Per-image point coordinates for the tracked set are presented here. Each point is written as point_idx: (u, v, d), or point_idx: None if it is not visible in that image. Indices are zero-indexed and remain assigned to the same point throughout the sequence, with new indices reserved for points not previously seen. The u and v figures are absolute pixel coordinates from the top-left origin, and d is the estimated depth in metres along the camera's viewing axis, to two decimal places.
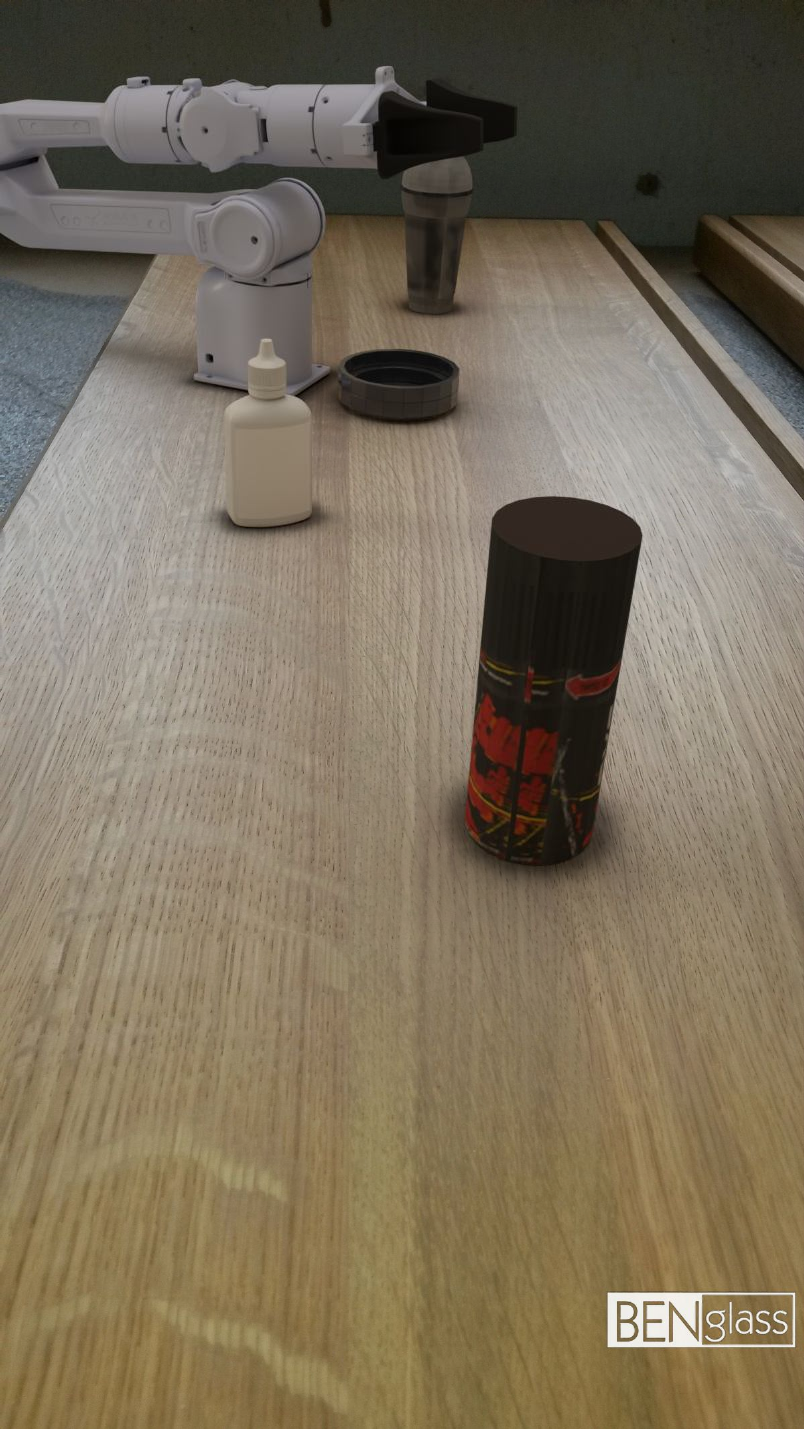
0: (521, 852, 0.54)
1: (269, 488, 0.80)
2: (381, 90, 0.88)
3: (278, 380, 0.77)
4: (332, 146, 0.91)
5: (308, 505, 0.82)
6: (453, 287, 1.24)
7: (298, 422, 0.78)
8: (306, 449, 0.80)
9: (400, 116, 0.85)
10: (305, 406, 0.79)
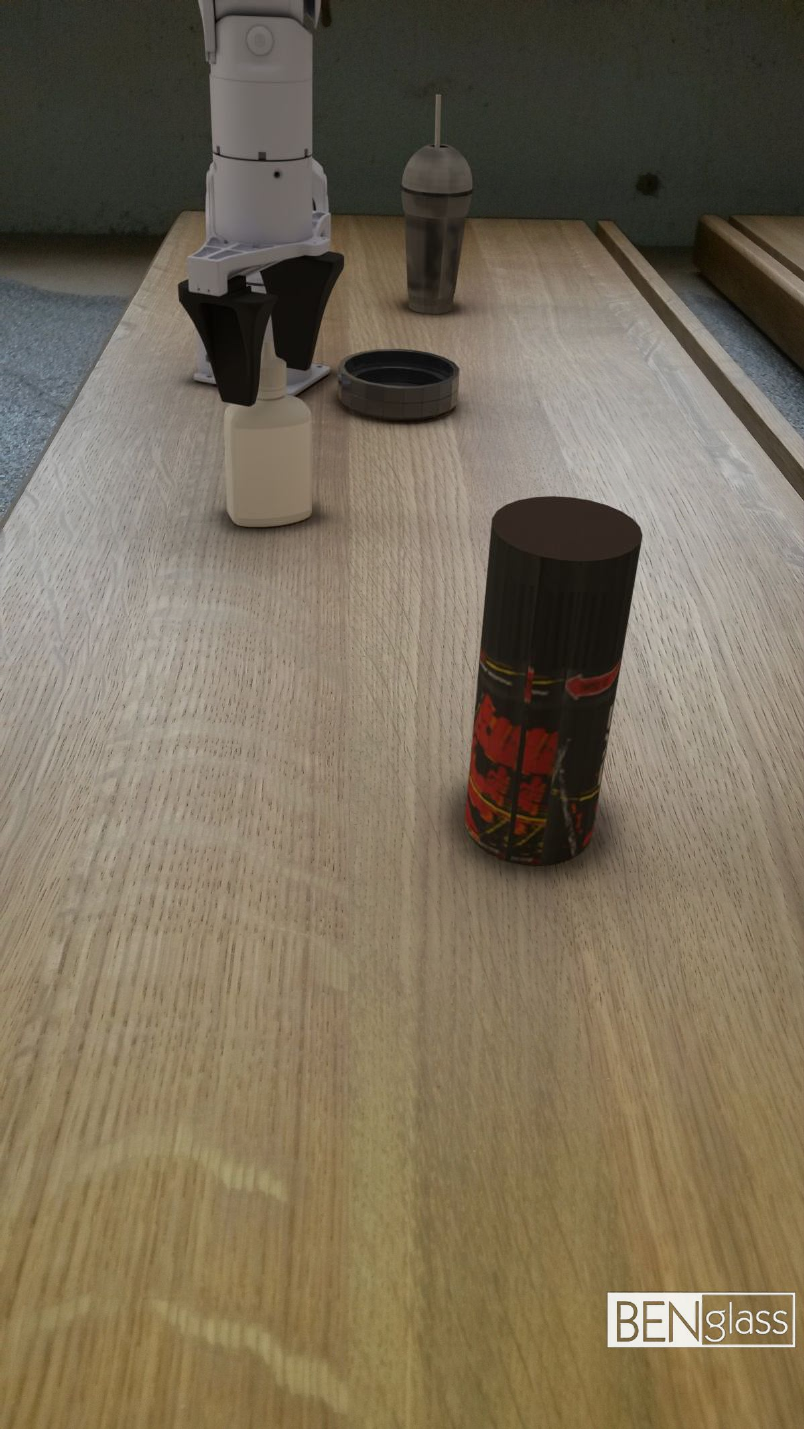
0: (521, 852, 0.54)
1: (269, 488, 0.80)
2: (291, 257, 0.71)
3: (278, 380, 0.77)
4: (225, 183, 0.69)
5: (308, 505, 0.82)
6: (453, 287, 1.24)
7: (298, 422, 0.78)
8: (306, 449, 0.80)
9: (241, 323, 0.70)
10: (305, 406, 0.79)
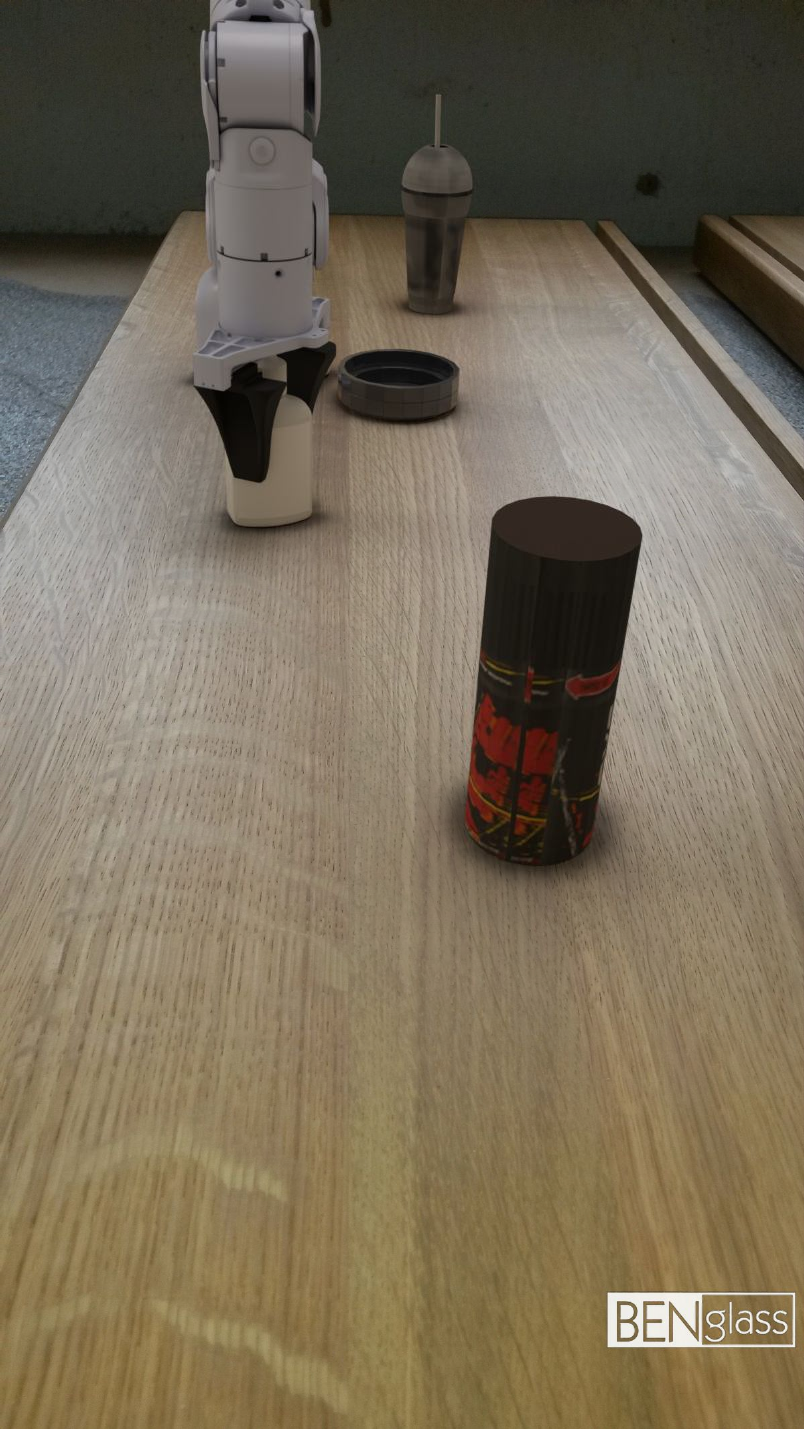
0: (521, 852, 0.54)
1: (270, 487, 0.80)
2: (291, 349, 0.74)
3: None
4: (228, 281, 0.72)
5: (308, 505, 0.82)
6: (453, 287, 1.24)
7: (298, 421, 0.78)
8: (306, 449, 0.80)
9: (252, 408, 0.74)
10: (305, 406, 0.79)
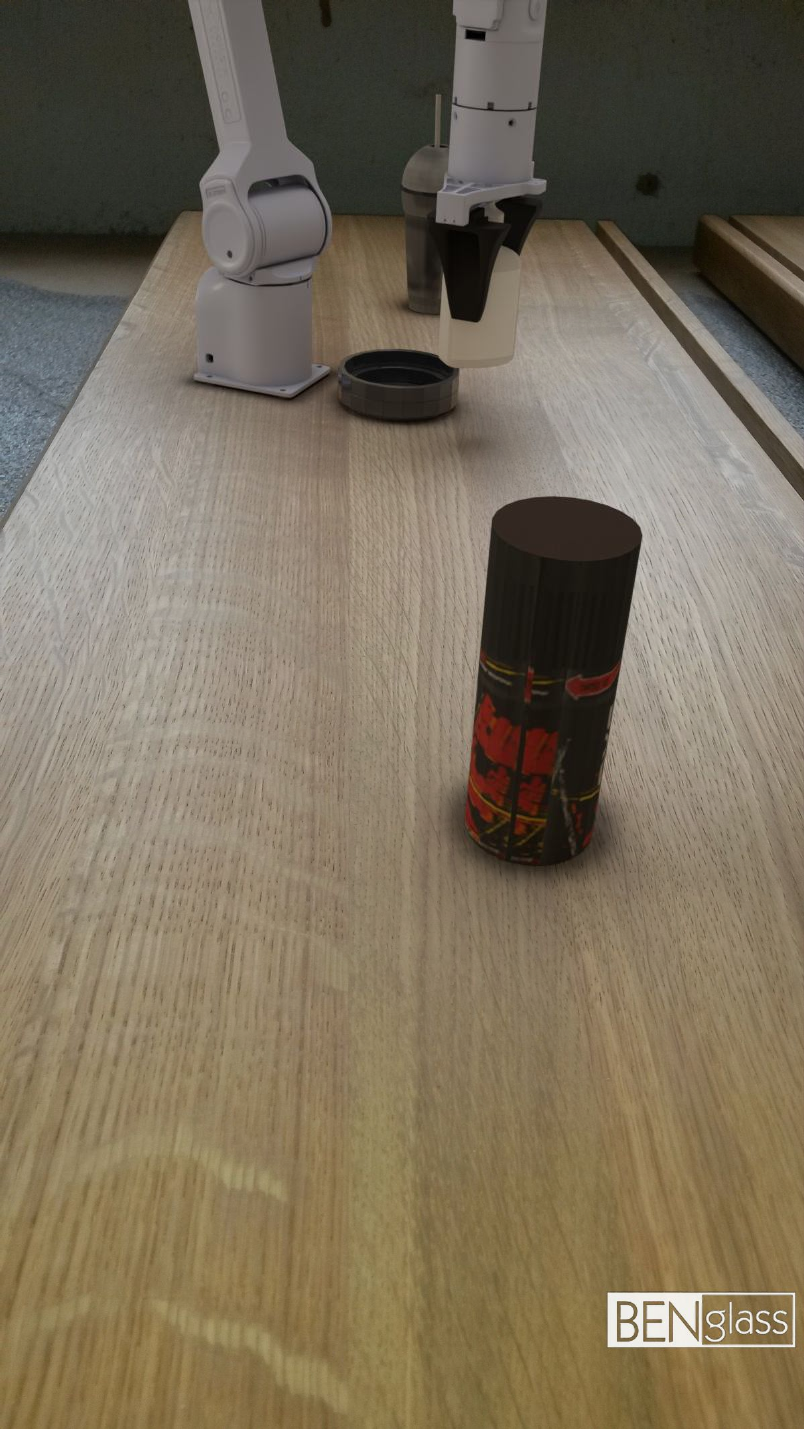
0: (521, 852, 0.54)
1: (482, 330, 0.88)
2: (516, 195, 0.83)
3: None
4: (464, 130, 0.81)
5: (511, 350, 0.91)
6: None
7: (511, 268, 0.87)
8: (515, 295, 0.88)
9: (481, 248, 0.82)
10: None
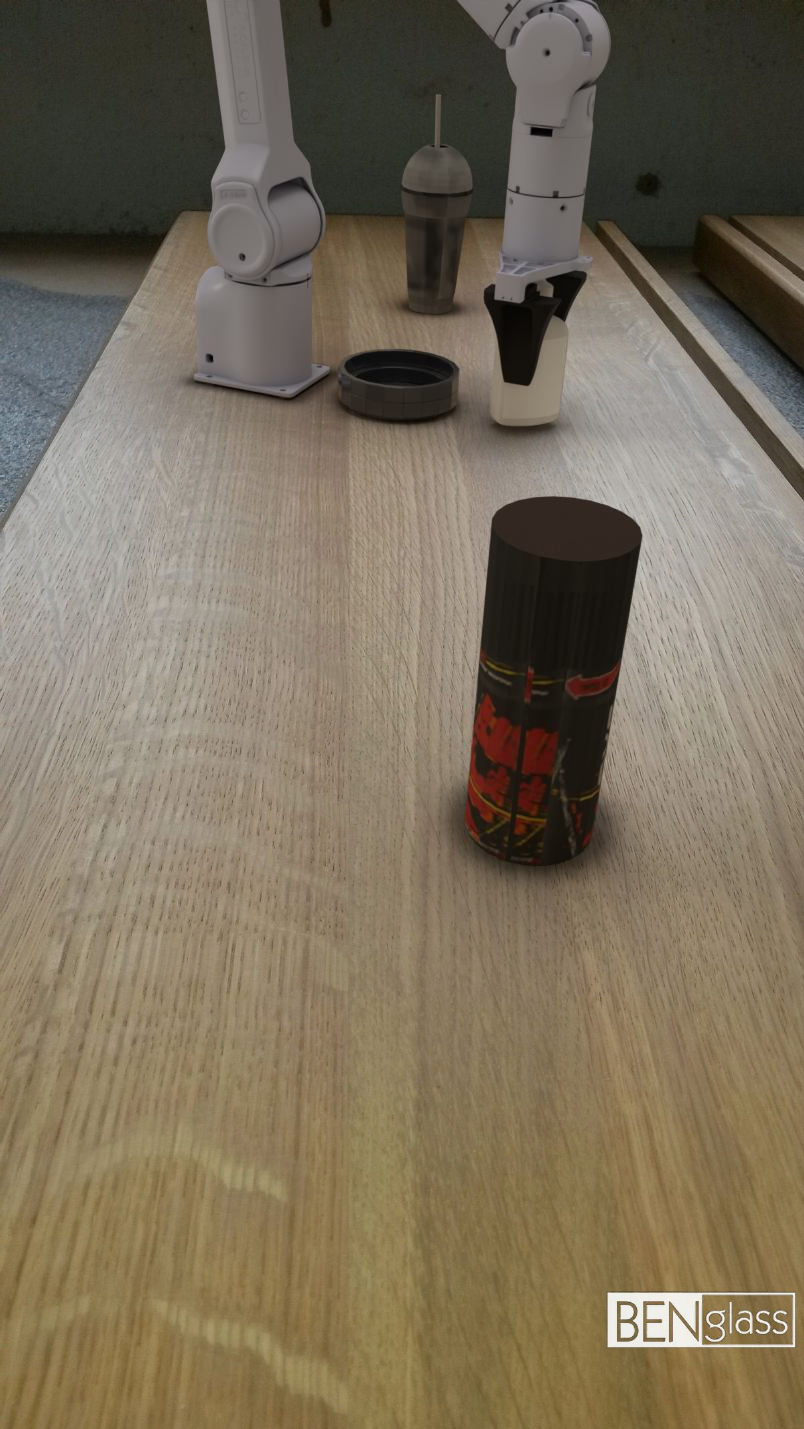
0: (521, 852, 0.54)
1: (531, 391, 0.96)
2: (565, 272, 0.90)
3: None
4: (519, 214, 0.88)
5: (558, 408, 0.98)
6: (453, 287, 1.24)
7: (559, 335, 0.94)
8: (562, 359, 0.96)
9: (534, 320, 0.90)
10: (564, 323, 0.95)
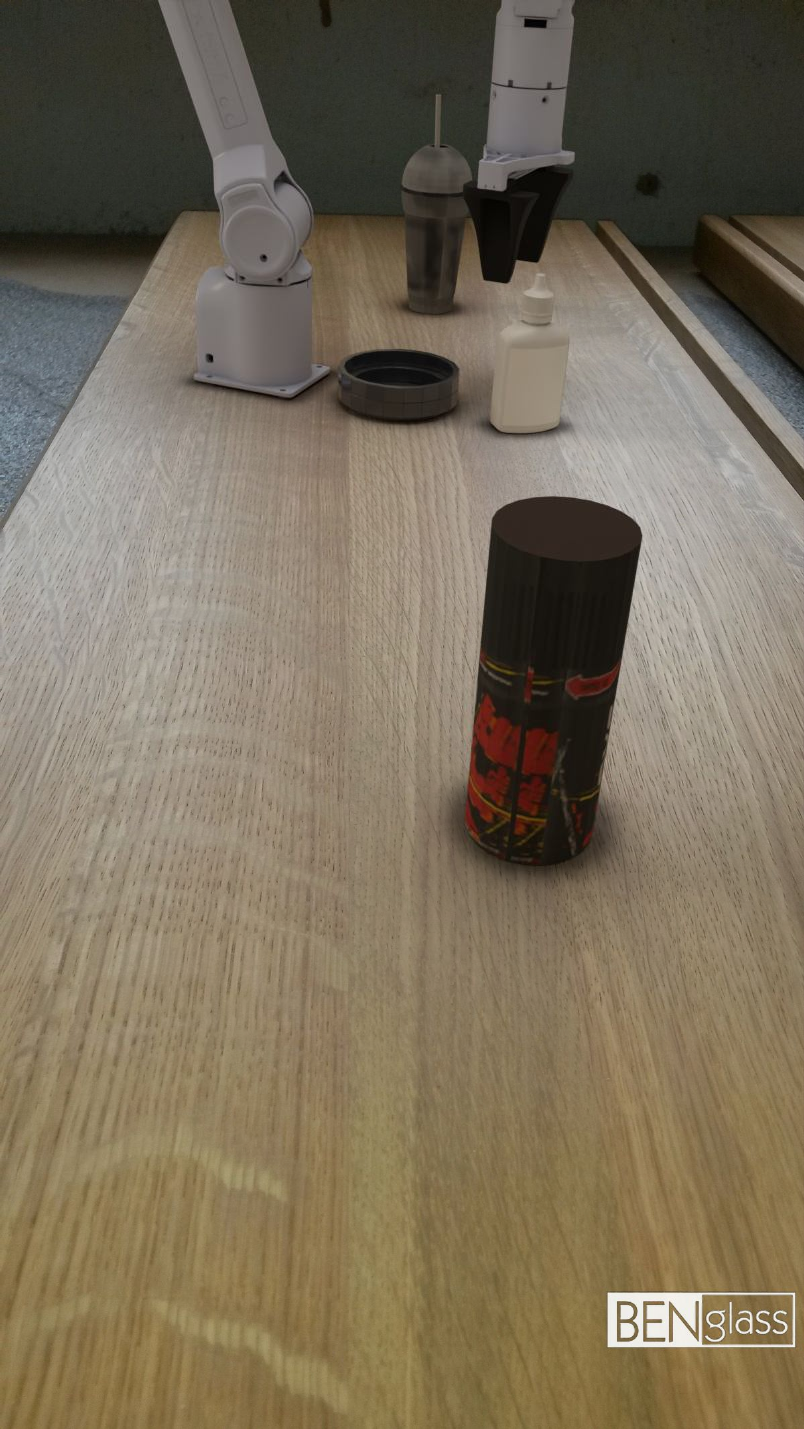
0: (521, 852, 0.54)
1: (532, 399, 0.96)
2: (547, 165, 0.93)
3: (548, 308, 0.93)
4: (502, 107, 0.91)
5: (558, 416, 0.98)
6: (453, 287, 1.24)
7: (560, 344, 0.94)
8: (563, 367, 0.96)
9: (511, 214, 0.92)
10: (565, 331, 0.95)
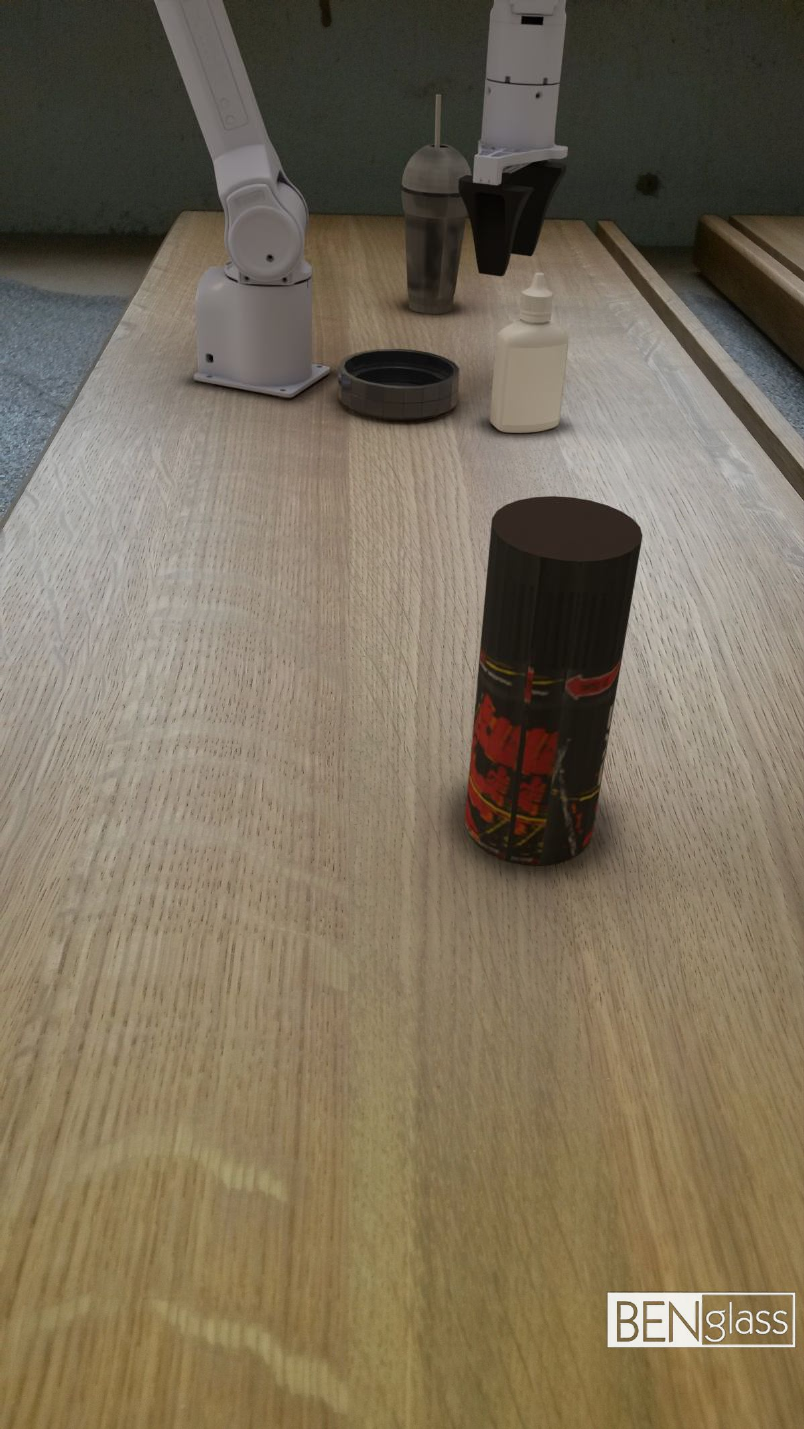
0: (521, 852, 0.54)
1: (531, 398, 0.96)
2: (541, 159, 0.94)
3: (547, 307, 0.93)
4: (497, 102, 0.92)
5: (558, 415, 0.98)
6: (453, 287, 1.24)
7: (559, 342, 0.95)
8: (562, 366, 0.96)
9: (506, 208, 0.93)
10: (564, 330, 0.95)
